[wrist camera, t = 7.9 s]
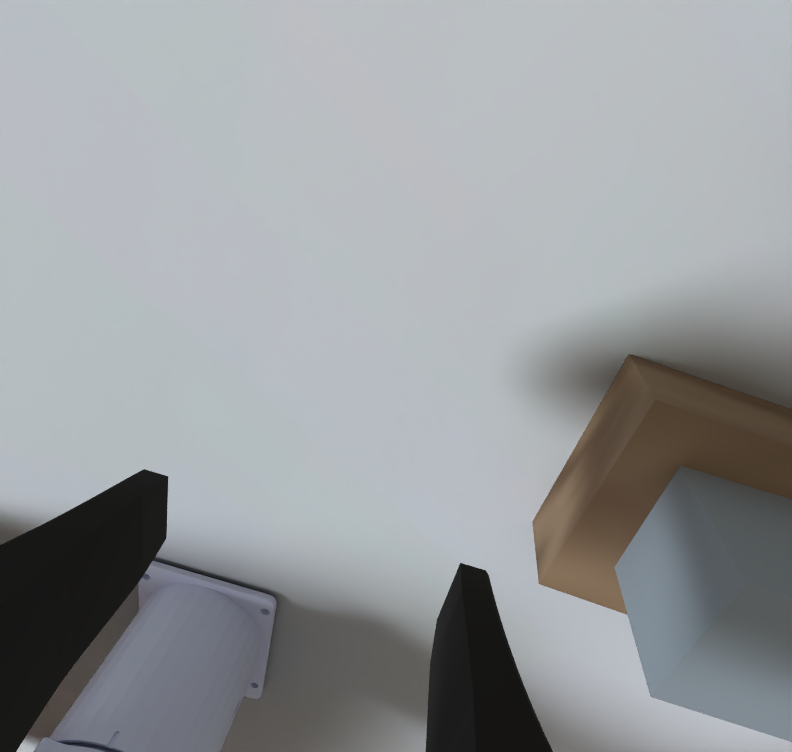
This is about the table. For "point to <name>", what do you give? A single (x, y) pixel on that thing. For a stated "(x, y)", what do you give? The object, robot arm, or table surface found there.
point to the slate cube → (715, 600)
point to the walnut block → (650, 468)
